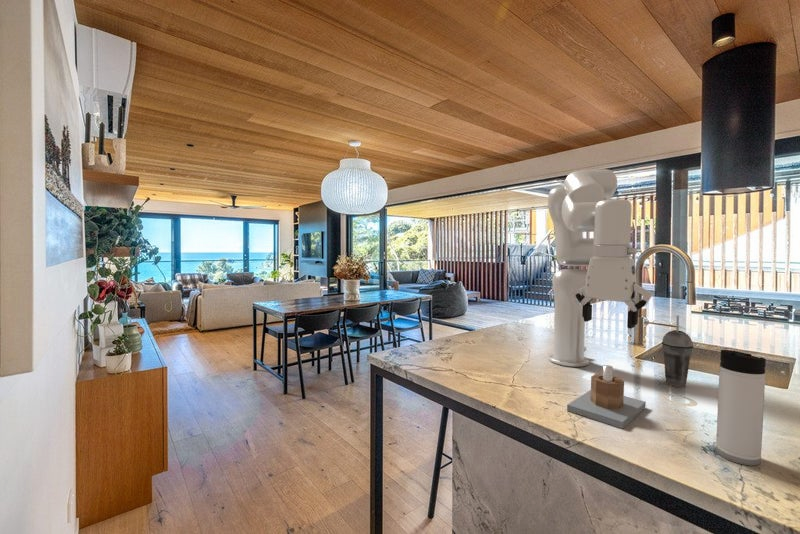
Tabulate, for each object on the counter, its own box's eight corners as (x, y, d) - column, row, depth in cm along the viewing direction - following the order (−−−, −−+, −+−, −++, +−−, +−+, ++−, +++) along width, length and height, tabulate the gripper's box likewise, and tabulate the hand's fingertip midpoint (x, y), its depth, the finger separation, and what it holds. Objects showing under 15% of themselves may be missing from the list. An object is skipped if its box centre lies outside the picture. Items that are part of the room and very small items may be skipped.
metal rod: (603, 400, 92) (605, 364, 92) (612, 403, 91) (613, 366, 90) (600, 403, 91) (601, 366, 90) (609, 405, 89) (610, 368, 89)
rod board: (593, 393, 100) (593, 387, 100) (645, 407, 92) (645, 401, 91) (566, 410, 90) (567, 404, 90) (622, 428, 81) (622, 422, 81)
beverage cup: (693, 384, 107) (696, 314, 106) (690, 391, 102) (693, 318, 101) (662, 378, 112) (664, 311, 111) (657, 385, 107) (660, 315, 106)
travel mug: (705, 448, 73) (709, 347, 72) (736, 447, 74) (741, 346, 73) (736, 467, 67) (742, 356, 66) (770, 465, 67) (776, 355, 66)
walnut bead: (597, 395, 95) (598, 372, 95) (626, 403, 90) (626, 379, 90) (587, 402, 91) (588, 378, 91) (616, 411, 86) (617, 385, 86)
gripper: (658, 253, 85) (655, 327, 86) (580, 251, 98) (578, 316, 99) (648, 254, 80) (645, 333, 81) (567, 252, 93) (565, 320, 94)
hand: (608, 324), depth 90 cm, fingers open, 9 cm apart
